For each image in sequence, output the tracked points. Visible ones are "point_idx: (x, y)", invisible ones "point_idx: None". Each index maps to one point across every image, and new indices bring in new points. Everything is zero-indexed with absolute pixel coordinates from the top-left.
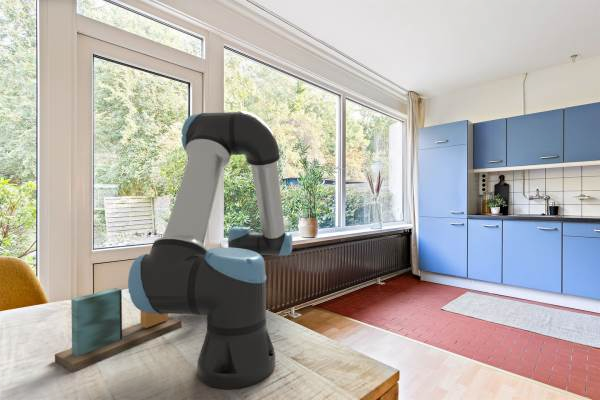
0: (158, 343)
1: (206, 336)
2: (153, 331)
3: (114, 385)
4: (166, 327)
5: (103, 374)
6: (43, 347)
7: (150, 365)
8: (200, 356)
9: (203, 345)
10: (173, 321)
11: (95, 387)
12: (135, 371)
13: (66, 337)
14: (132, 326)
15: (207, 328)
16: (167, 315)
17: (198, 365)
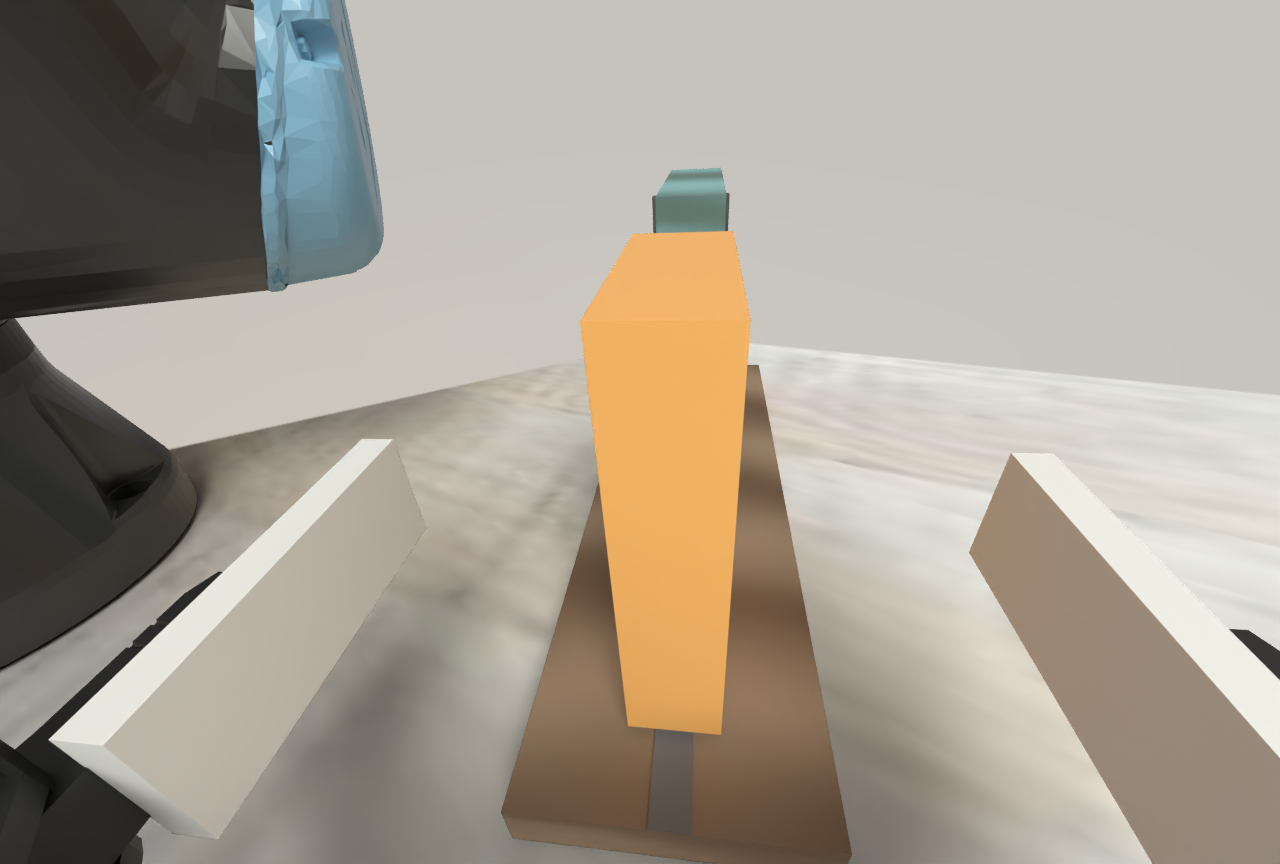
0: (511, 572)
1: (61, 373)
2: (581, 563)
3: (464, 401)
4: (550, 647)
5: (541, 408)
6: (933, 403)
7: (420, 468)
8: (143, 432)
9: (104, 404)
10: (572, 755)
11: (509, 386)
12: (451, 439)
13: (1001, 452)
14: (788, 557)
15: (30, 339)
16: (624, 693)
17: (170, 452)
